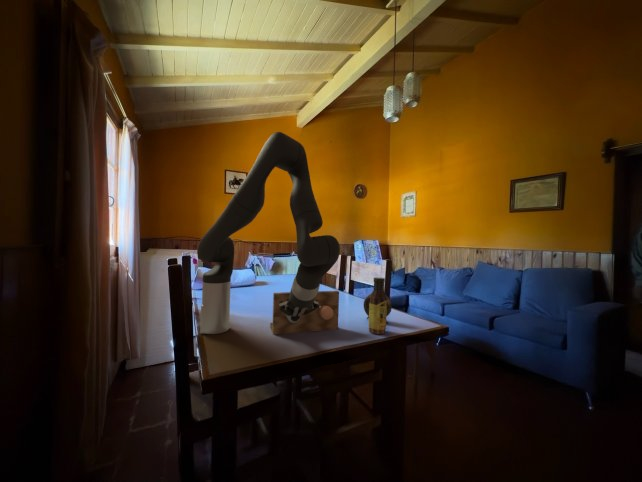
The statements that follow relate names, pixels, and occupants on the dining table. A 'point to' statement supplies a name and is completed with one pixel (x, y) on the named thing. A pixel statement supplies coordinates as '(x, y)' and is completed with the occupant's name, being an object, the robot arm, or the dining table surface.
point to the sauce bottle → (378, 307)
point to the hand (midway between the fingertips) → (294, 318)
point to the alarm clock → (367, 302)
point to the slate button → (290, 319)
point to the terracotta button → (326, 312)
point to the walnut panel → (306, 321)
